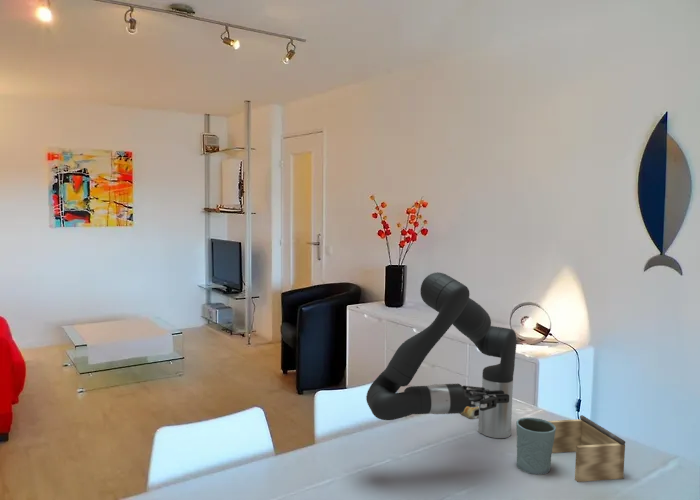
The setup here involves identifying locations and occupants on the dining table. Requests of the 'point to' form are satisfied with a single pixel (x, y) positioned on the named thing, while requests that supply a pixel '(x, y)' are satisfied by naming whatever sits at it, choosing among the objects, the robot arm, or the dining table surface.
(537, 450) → the green ceramic pot
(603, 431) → the oak caddy
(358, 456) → the dining table surface
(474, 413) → the pastry
